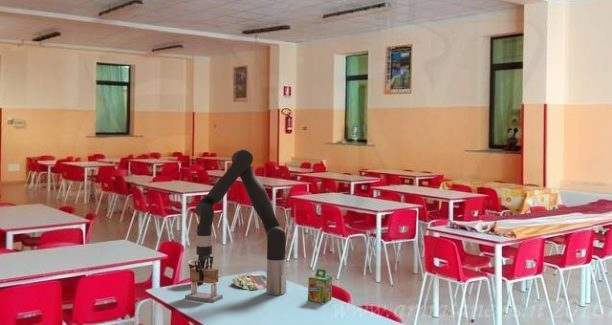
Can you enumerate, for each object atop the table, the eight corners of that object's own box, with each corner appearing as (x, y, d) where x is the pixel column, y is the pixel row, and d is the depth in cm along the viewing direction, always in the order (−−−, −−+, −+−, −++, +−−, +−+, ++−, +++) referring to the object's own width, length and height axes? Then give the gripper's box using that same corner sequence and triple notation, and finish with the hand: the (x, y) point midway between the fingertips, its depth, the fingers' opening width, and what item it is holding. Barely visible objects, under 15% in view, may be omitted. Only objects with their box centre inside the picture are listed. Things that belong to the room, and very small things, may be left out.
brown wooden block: (195, 279, 295) (194, 267, 294) (218, 281, 290) (218, 269, 290) (190, 281, 291) (189, 268, 290) (213, 283, 286) (213, 271, 286)
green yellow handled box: (307, 301, 288) (307, 270, 288) (314, 296, 297) (315, 267, 296) (325, 303, 285) (325, 272, 284) (332, 299, 293) (332, 269, 293)
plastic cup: (201, 287, 310) (202, 264, 310) (183, 285, 314) (183, 262, 314) (212, 282, 321) (212, 260, 320) (194, 280, 324) (194, 258, 324)
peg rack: (222, 298, 291) (222, 282, 291) (214, 302, 284) (214, 286, 284) (194, 294, 297) (194, 279, 297) (185, 298, 290) (185, 283, 290)
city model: (247, 298, 301) (248, 286, 300) (221, 283, 318) (222, 272, 317) (285, 290, 318) (286, 279, 317) (258, 276, 335) (259, 266, 334)
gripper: (205, 241, 297) (205, 275, 298) (189, 246, 284) (189, 282, 285) (218, 242, 295) (218, 277, 295) (203, 247, 281) (202, 283, 282)
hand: (204, 279), depth 290 cm, fingers closed on brown wooden block, 4 cm apart
